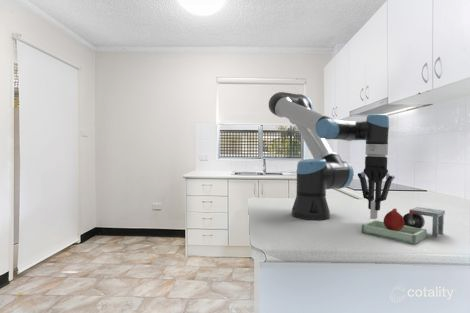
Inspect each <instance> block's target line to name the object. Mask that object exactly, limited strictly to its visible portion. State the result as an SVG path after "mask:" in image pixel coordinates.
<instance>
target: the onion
mask: <svg viewBox="0 0 470 313" xmlns="http://www.w3.org/2000/svg"><path fill="white" fill-rule="evenodd" d="M402 216H403V215H401V213H399V212H398V210H397V208H392V210H390V211H388V212H387V213H386V214H385V216H384V218H383V222H384V225H385V227H386V228H387V229H388V230H393V231H399V230H401V229H402V228H403V227H404V219H403V217H402Z"/></svg>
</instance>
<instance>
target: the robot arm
mask: <svg viewBox="0 0 470 313" xmlns="http://www.w3.org/2000/svg"><path fill="white" fill-rule="evenodd" d="M268 110H269V111H270V112H271V114H272V115H274V116H276V117H279V118H285V119H287V120H289V122H290V124H291V125H295V126H296V129H297V130H298V132H299V133H300V135H301V137H302V139H303V142H305V145H306V147H307V148H308V150H309V152H310V154H311V155H312V158H307V159H301V160H300V161H298V162H297V165H296V196H295V199H294V201H293V202H294V203H293V206H292V208H291V215H292V216H293V217H294V218H298V219H302V220H303V219H304V220H313V221H314V220H317V221H318V220H320V221H321V220H328V219H329V218H331V215H330V214H331V211H330V208H329V205H328V201H327V198H326V196H327V195H326V194H327V190H335V189H338V190H340V189H343V188H347V187H349V186H350V185H351V183H352V181H354V180H353V179H354V174H355V173H354V169H353V166H352V165H351V164H350V162H348V161H344V160H343V159H342V158H341V156H340V155H339V153H338V152H337V153H336V152H333V150H332V148H331V147H330V145H329V144H328V141H327V140H339V141H340V140H341V141H349V142H350V141H365V155H366V156H365V157H364V169H363V171H361V172H360V173H359V172H358V173H357V177H358V179H359V181H360V185H361V191H362V198H363V199H366V200H367V203H368V206H367V208H368V210H370V216H369V219H370V220H377V219H378V214H379V213H378V212H379V211H380V210H381V202H384V201H386V200H387V198H388V194H389V191H390V187H391V184H392V182H393V181H394V179H395V178H396V177H395V175H391V173H389V170H388V157H387V156H388V154H389V153H388V152H389V150H388V149H389V142H388V141H389V130H390V129H389V128H390V125H389V123H390V122H389V120H390V119H389V115H388V114H383V113H373V114H372V113H371V114H368V115H367V116H366V119H365V120H360V121H359V120H358V121H355V120H354V121H352V120H345V119H344V120H343V119H342V120H341V119H336V118H333V117H329V116H327V115H325V114H322V113H320V112H319V111H316V110H313V103H312V100H311V98H309V97H308V96H307V95H303V94H299V93H298V94H297V93H291V92H284V91H281V92H276V93H274V94H273V95H271V97H270V98H269V100H268ZM366 177H367V179H366ZM384 179H385V182H384V185H383V188H382V184H383V180H384ZM367 182H368V183H367Z"/></svg>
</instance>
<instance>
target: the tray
mask: <svg viewBox="0 0 470 313" xmlns="http://www.w3.org/2000/svg"><path fill="white" fill-rule="evenodd" d="M361 233H362V234H367V235H372V236H376V237H381V238H385V239H388V240H393V241H399V242H402V243H408V244H413V245H416V244H418V243H420V242H422V241H424V240H425V239H427V233H428V232H427V229H425V228H415V227H410V226H404V227H403V228H402V229H401V230H399V231H393V230H388V229H387V228H386V227H385V225H384V221H382V220H377V219H374V220H372V221H370V222H366V223H363V224H362V225H361ZM424 238H425V239H424ZM419 241H420V242H419Z"/></svg>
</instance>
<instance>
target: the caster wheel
mask: <svg viewBox="0 0 470 313" xmlns="http://www.w3.org/2000/svg"><path fill="white" fill-rule="evenodd" d="M445 212H446V211H445V210H444V209H437V208H436V209H435V208H429V207H421V206H417V207H414V208H410V209H409V212H408V213H406V214H404V215H402V216H403V219H404V226H410V227H415V228H421V229H423V228H424V226H425V218H424V217H425V216H427V217H431V218H432V230H431V231H432V232H431V234H432V237H433V236H435V237H434V238H438V237H439V235H438V234H444V222H445V221H444V217H445V215H446V214H445ZM437 236H438V237H437Z"/></svg>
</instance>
